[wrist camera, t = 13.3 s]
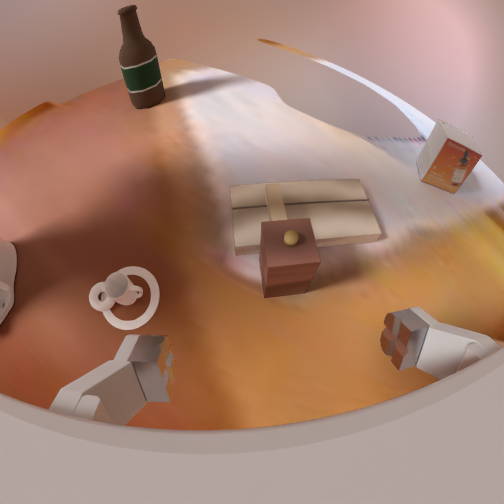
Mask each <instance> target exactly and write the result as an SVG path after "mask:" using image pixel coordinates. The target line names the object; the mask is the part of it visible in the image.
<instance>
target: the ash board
mask: <svg viewBox="0 0 504 504" xmlns="http://www.w3.org/2000/svg"><path fill="white" fill-rule="evenodd" d="M268 184H280V189H281V193H282V197H283V202H284V206H285V211H286V216H287V220H290V219H303V218H310V221H311V225H312V229H313V232H314V236H315V240H316V244H317V247H327V246H337V245H347V244H357V243H367V242H376V241H377V239H378V238H379V237H380V235H381V234H382V233H381V231H380V228H379V225H378V223H377V220H376V218H375V215H374V212H373V210H372V208H371V205H370V203H369V199H368V198H367V195H366V193H365V191H364V189H363V186H362V184H361V182H360V180H359V179H349V180H311V181H290V182H273V183H259V184H246V185H235V186H230V193H231V205H232V217H233V229H234V240H235V251H236V255H244V254H255V253H260V240H261V222H265V221H270V219H269V213H268V208H267V202H266V196H265V185H268Z"/></svg>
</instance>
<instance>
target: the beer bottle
mask: <svg viewBox="0 0 504 504" xmlns="http://www.w3.org/2000/svg"><path fill="white" fill-rule="evenodd" d="M136 9H137V7H136V6H135V5H130V6H127V7H124V8H121V9H120V10H118V15H120V20H121V27H122V33H123V45H122V47H121V49H120V55H119V61H120V66H121V69H122V73H123V76H124V80H125V83H126V86H127V90H128V93H129V96H130V99H131V102H132V104H133V105H134V106H135V107H136V108H137V109H143V108H149V107H151V106H154V105H156V104H158V103H160V102H161V100H162V99H163V98H164V96H165V93H164V87H163V82H162V78H161V73H160V68H159V64H158V59H157V54H156V51H155V47H154V46H153V45H152V43H151V42H150V41H149V40H148V39H146V38H145V37H144V35H143V33H142V31H141V27H140V24H139V20H138V17H137V13H136Z"/></svg>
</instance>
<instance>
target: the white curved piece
mask: <svg viewBox="0 0 504 504" xmlns="http://www.w3.org/2000/svg"><path fill="white" fill-rule="evenodd" d="M126 275H138V276H140V277H142V278H143V279H145V280H146V282H147V283H148V285H149V287H150V290H151V300H150V304H149V306H148V308H147V310H146V311H145V313H144V314H143V315H142V316H140V317H139V318H137V319H135V320H132V321H123V320H120V319H118V318H116V317H115V316H114V315H113V314H112V312H111V310H110V308H112V307H113V306H114V304H115V302H117V303H119V304H122V305H131V304H133V303H134V302H135V301H136V299H137V298H140V297H141V296H142V294H143V289H142V288H141V287H139V286H135V285H133V283H132V282H131V281H130V279H129V278H128V277H127V276H126ZM137 291H138V292H140V293H138V294H137ZM101 292H102V294H101V301H100V300H99V299H98V295H99V294H100V293H101ZM159 297H160V292H159V286H158V283H157V281H156V279H155V277H154V276H153V275H152V274H151V273H150V272H149V271H147V270H146V269H144V268H141V267H136V266H130V267H125V268H122V269H120V270H118V271H117V272H114V273H112V274H111V275H109V276H108V278H107V279H106V281H105V282H99V283H97V284H95V285H94V286H93V287H92V288H91V290H90V293H89V302H90V304H91V306H92V307H93V308H94V309H95V310H97V311H101V312H103V315H104V316H105V318H106V320H107V321H108V322H109V323H110V324H111V325H113V326H114V327H116V328H118V329H122V330H132V329H136V328H139V327H141V326H143V325H144V324H145V323H147V322H148V321H149V320H150V319H151V317H152V316H153V315H154V313H155V311H156V309H157V307H158V303H159Z"/></svg>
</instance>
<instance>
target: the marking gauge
mask: <svg viewBox="0 0 504 504" xmlns="http://www.w3.org/2000/svg"><path fill="white" fill-rule="evenodd" d="M265 196H266V202H267V208H268V213H269V219H270V221H265V222H261V240H260V259H259V262H260V269H261V277H262V284H263V292H264V298H269V297H277V296H286V295H294V294H302V293H305V291H306V289H307V287H308V286H309V284H310V282H311V280H312V278H313V276H314V274H315V272H316V270H317V268H318V266H319V264H320V262H321V261H320V257H319V253H318V248H317V244H316V240H315V236H314V232H313V229H312V225H311V221H310V218H303V219H290V220H287V216H286V211H285V206H284V202H283V197H282V193H281V189H280V184H268V185H265Z"/></svg>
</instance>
